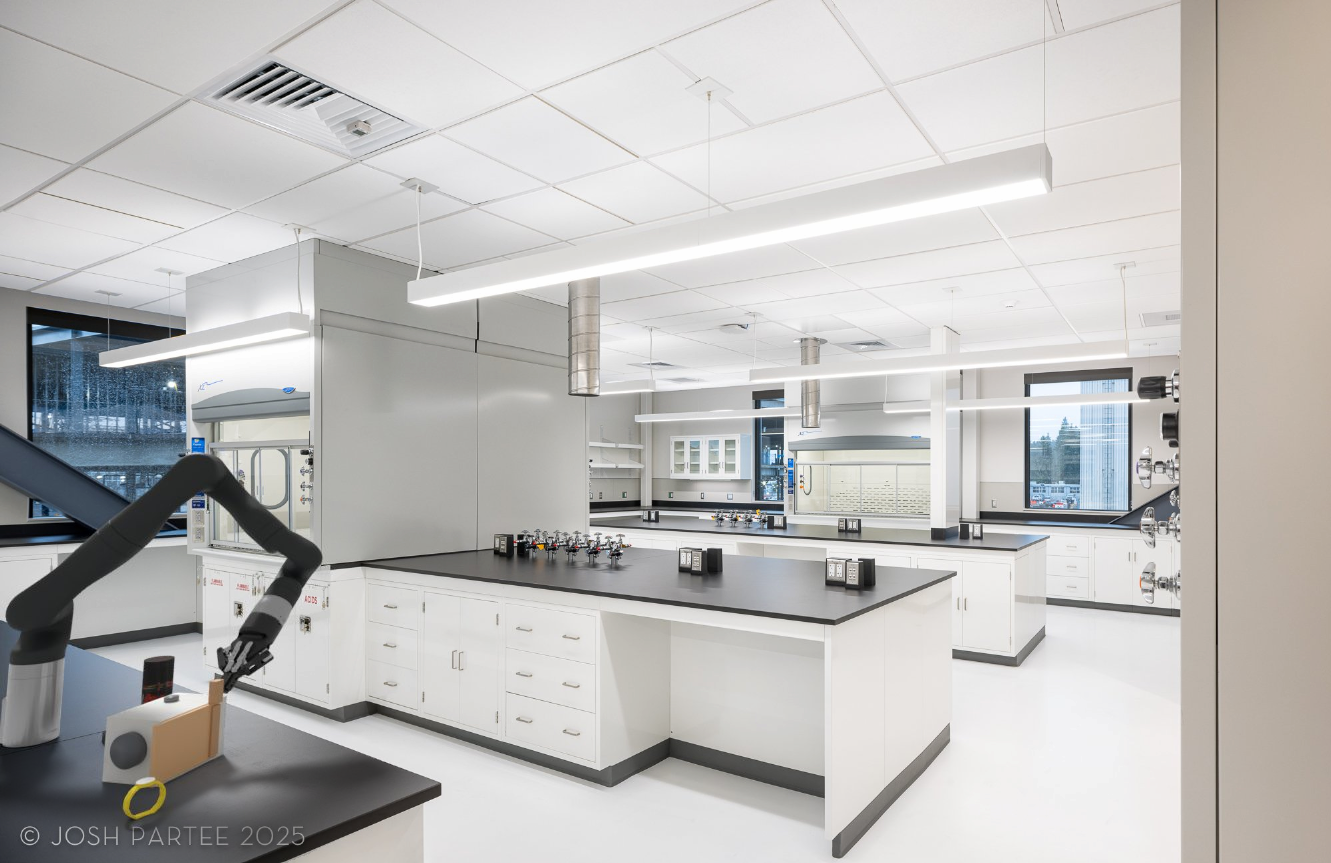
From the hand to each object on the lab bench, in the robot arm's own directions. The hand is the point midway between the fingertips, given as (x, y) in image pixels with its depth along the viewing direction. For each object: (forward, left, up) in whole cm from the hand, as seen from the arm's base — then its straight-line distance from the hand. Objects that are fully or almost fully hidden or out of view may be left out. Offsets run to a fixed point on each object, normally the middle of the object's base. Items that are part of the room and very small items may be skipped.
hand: (221, 691), depth 145 cm
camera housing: (-7, -5, -14) cm, 16 cm away
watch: (+6, -23, -14) cm, 28 cm away
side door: (0, -8, -13) cm, 15 cm away
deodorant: (-30, +16, -14) cm, 37 cm away
